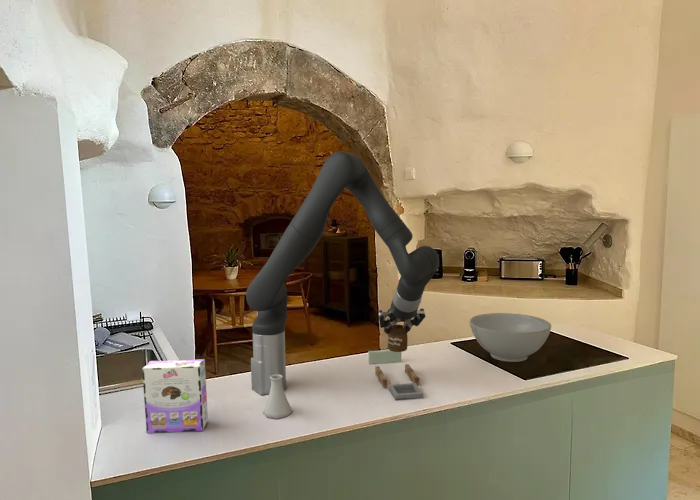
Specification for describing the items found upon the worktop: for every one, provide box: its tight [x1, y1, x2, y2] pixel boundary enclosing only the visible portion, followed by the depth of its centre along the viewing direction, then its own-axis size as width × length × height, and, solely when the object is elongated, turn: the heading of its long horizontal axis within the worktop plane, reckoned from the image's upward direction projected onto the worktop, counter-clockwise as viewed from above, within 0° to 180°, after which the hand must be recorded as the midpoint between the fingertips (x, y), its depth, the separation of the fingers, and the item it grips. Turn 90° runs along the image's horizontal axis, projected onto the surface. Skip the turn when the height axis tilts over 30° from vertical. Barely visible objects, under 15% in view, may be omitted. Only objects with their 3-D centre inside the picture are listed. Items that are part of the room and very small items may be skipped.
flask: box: [262, 374, 293, 420], centre depth 132 cm, size 7×7×10 cm
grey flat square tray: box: [388, 382, 424, 401], centre depth 144 cm, size 8×8×1 cm
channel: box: [374, 363, 420, 389], centre depth 155 cm, size 12×11×2 cm
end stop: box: [367, 349, 402, 365], centre depth 170 cm, size 2×11×4 cm, turn 98°
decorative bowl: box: [469, 312, 552, 363], centre depth 175 cm, size 27×27×12 cm
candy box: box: [141, 358, 209, 434], centre depth 124 cm, size 14×6×16 cm, turn 92°
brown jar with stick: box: [387, 322, 408, 353], centre depth 151 cm, size 6×6×12 cm
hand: (396, 330), depth 153 cm, fingers closed on brown jar with stick, 5 cm apart
